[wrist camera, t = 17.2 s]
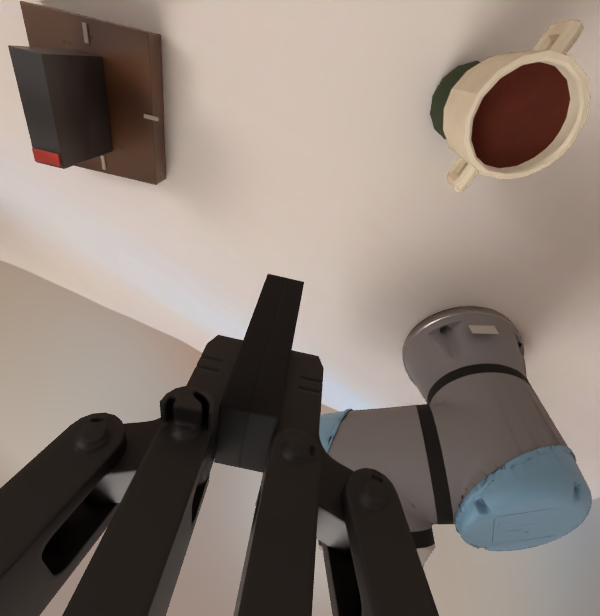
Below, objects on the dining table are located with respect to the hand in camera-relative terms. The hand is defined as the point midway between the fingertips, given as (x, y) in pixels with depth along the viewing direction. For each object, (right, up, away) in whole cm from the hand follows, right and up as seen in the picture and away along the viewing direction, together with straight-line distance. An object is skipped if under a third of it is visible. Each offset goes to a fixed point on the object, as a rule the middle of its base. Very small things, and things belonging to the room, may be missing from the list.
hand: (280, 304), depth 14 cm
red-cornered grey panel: (-19, +19, +18) cm, 32 cm away
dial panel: (-18, +21, +20) cm, 34 cm away
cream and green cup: (+16, +19, +17) cm, 30 cm away
